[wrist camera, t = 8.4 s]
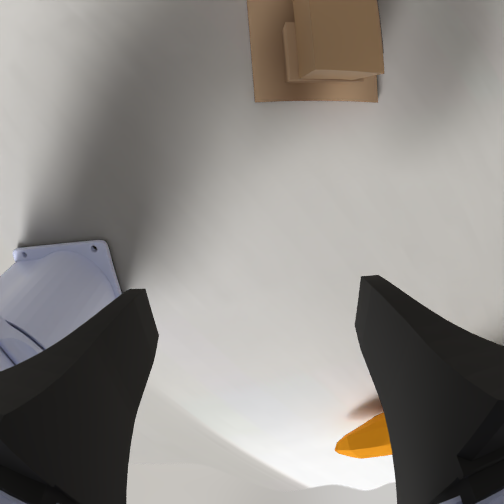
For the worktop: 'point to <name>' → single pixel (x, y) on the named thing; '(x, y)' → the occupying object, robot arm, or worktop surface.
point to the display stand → (291, 61)
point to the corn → (367, 440)
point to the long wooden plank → (338, 39)
